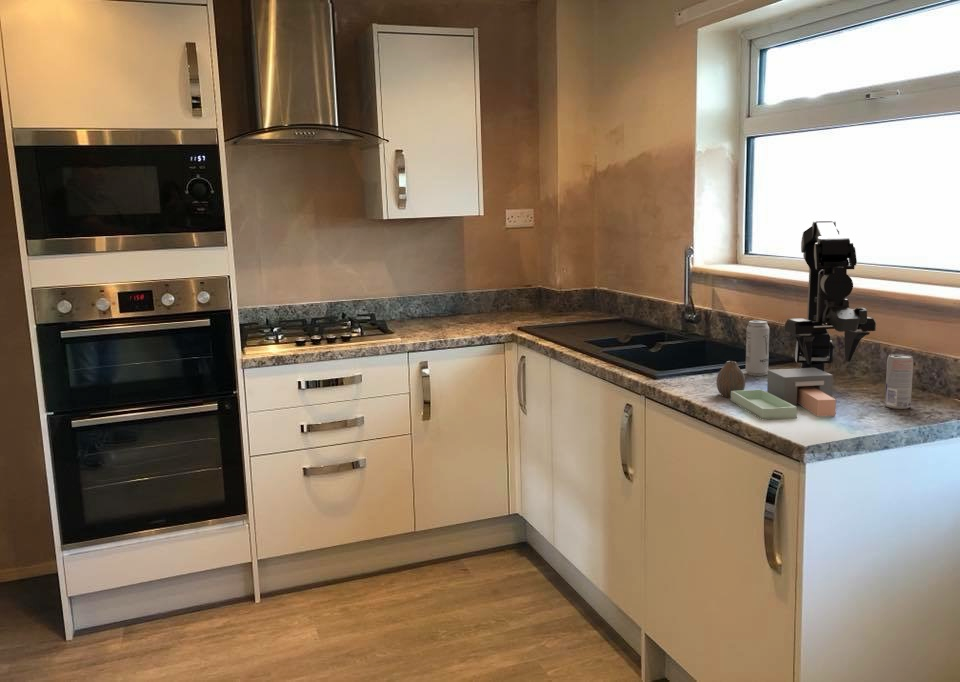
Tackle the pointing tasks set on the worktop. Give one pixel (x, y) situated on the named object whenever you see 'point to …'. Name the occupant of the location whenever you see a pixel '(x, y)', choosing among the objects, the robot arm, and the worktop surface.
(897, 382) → the energy drink
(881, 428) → the worktop surface
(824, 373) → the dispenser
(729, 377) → the vase
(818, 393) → the pink square pillar
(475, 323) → the worktop surface
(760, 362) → the energy drink can
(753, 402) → the tray
